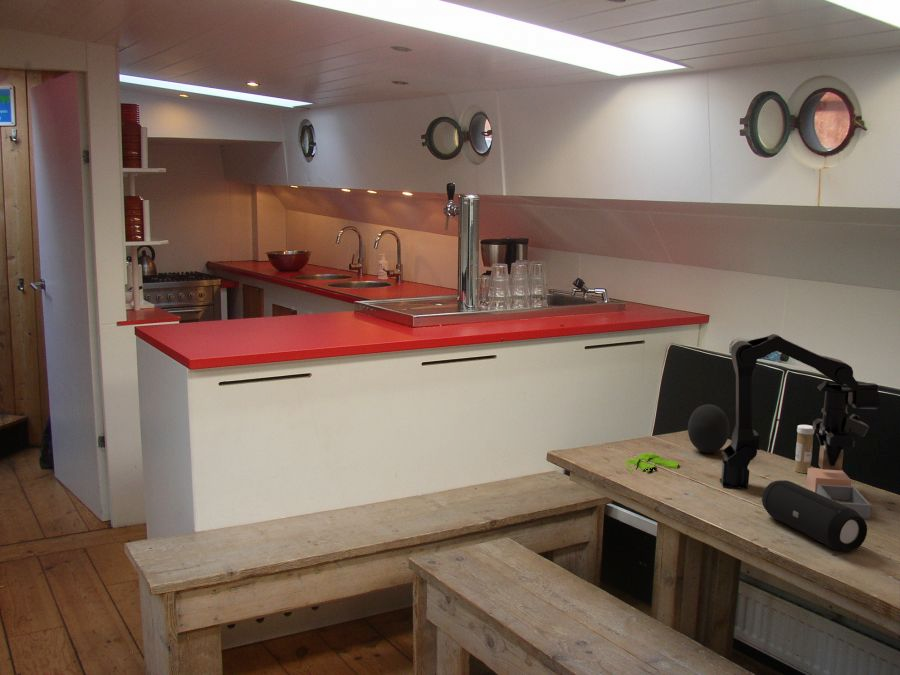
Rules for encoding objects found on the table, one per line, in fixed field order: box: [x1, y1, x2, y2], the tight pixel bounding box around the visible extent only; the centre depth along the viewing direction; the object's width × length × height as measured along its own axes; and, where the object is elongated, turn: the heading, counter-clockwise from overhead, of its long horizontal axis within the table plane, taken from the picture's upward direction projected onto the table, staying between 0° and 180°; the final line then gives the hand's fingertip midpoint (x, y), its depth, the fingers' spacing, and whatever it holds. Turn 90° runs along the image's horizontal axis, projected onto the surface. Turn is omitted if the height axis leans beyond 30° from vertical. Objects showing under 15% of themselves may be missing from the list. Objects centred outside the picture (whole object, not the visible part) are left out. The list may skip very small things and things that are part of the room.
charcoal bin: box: [817, 485, 872, 520], centre depth 229 cm, size 9×14×4 cm, turn 172°
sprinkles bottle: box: [794, 424, 815, 474], centre depth 258 cm, size 5×5×14 cm
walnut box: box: [818, 445, 844, 471], centre depth 242 cm, size 5×4×6 cm
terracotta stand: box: [805, 467, 853, 493], centre depth 243 cm, size 9×9×4 cm
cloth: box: [625, 452, 680, 475], centre depth 261 cm, size 20×22×2 cm
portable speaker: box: [761, 479, 868, 552], centre depth 210 cm, size 26×10×10 cm, turn 20°
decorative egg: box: [687, 404, 730, 454], centre depth 275 cm, size 12×12×15 cm
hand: (830, 463), depth 242 cm, fingers closed on walnut box, 4 cm apart
